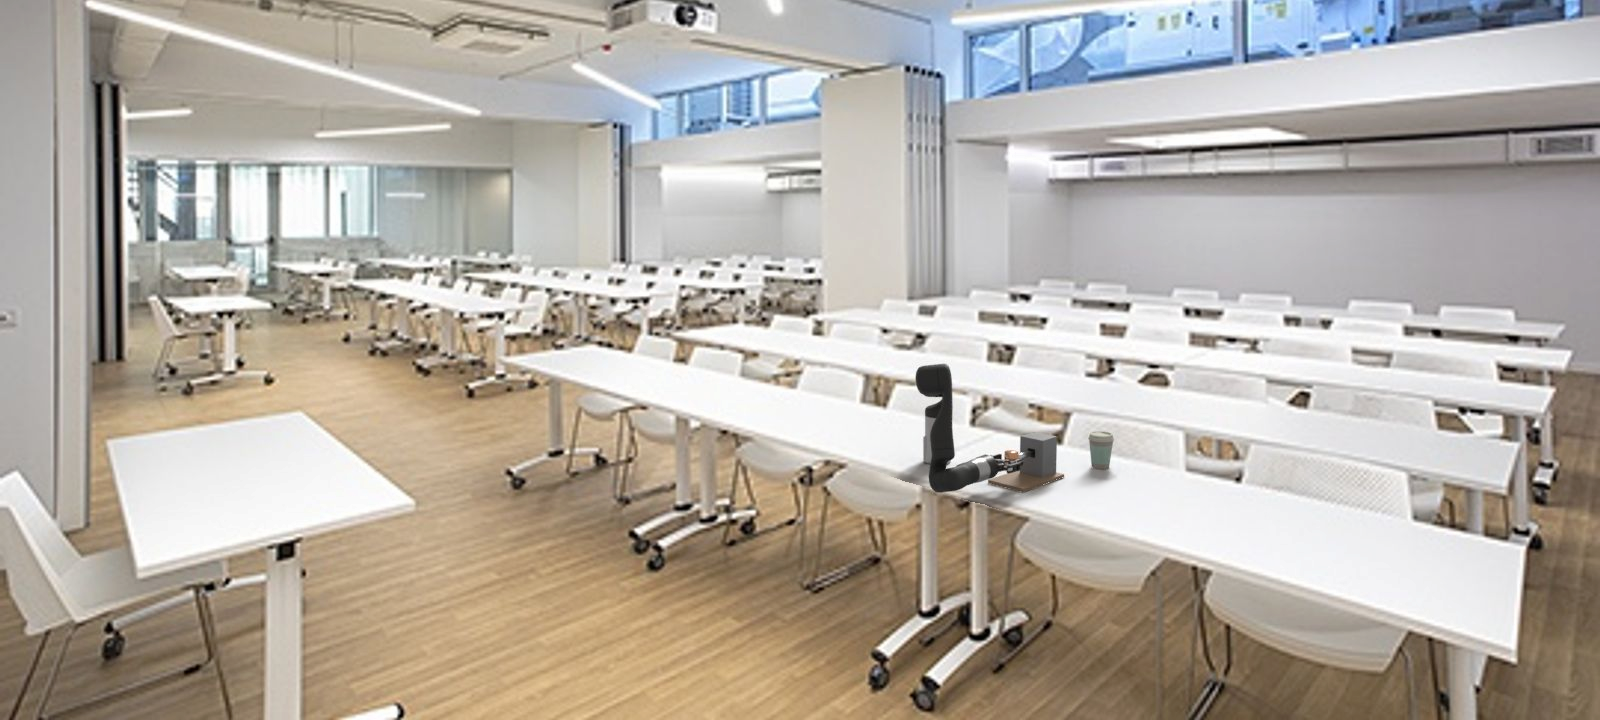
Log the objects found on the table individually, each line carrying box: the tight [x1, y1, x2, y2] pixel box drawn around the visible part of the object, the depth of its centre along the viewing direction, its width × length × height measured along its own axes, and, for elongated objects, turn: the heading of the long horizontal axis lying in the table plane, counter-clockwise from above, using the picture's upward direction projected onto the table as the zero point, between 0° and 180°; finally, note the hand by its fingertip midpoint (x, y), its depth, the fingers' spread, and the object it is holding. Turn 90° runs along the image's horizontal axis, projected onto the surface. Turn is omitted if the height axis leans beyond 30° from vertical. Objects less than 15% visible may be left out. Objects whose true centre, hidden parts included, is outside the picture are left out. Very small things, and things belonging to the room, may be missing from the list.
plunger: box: [1003, 449, 1035, 466], centre depth 300 cm, size 14×4×5 cm, turn 130°
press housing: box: [987, 431, 1065, 493], centre depth 302 cm, size 23×14×14 cm, turn 130°
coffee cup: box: [1088, 430, 1115, 470], centre depth 316 cm, size 8×8×12 cm
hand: (1011, 459), depth 297 cm, fingers open, 8 cm apart
